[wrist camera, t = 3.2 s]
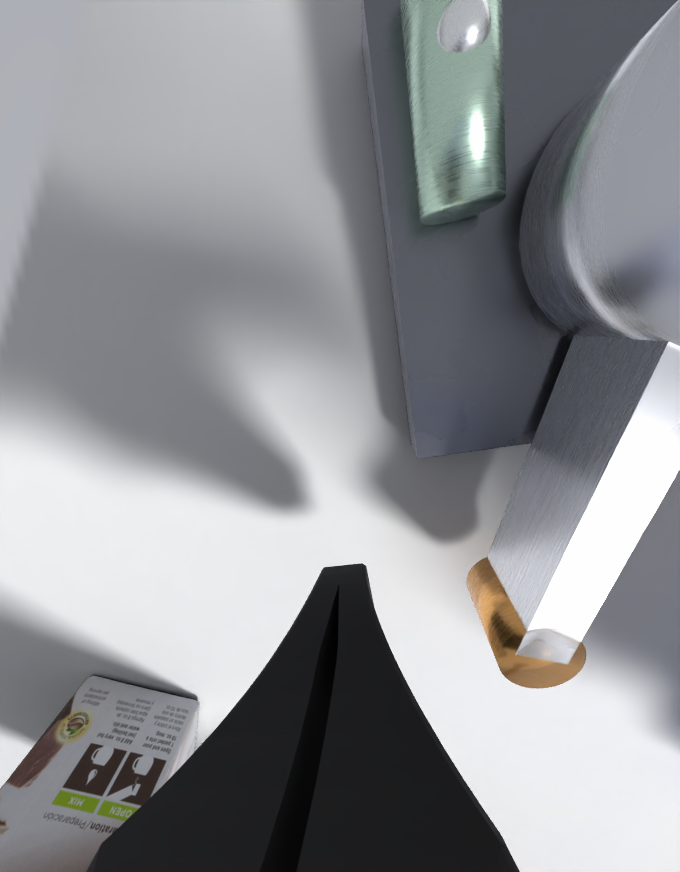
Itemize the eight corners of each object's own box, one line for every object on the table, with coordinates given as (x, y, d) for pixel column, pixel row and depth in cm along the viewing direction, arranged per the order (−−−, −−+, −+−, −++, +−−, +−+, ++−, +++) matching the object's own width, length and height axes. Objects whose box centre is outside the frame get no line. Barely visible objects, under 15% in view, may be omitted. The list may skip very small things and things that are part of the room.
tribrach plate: (793, 385, 10) (999, 415, 7) (411, 442, 12) (429, 489, 8) (925, -127, 7) (1453, -550, 4) (361, 44, 8) (361, -142, 5)
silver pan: (579, 16, 7) (743, -217, 4) (873, 66, 7) (1263, -132, 4) (406, 589, 12) (420, 675, 9) (572, 619, 12) (640, 715, 9)
